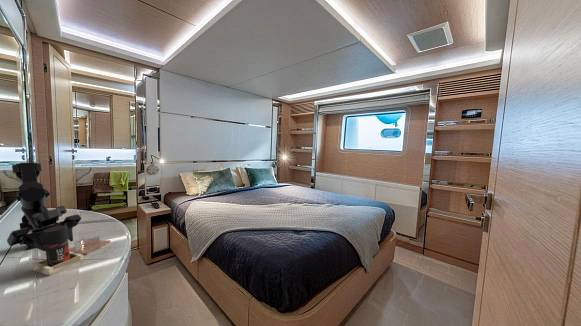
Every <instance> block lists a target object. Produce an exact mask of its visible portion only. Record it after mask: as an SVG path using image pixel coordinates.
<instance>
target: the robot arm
mask: <svg viewBox="0 0 581 326" xmlns="http://www.w3.org/2000/svg"><path fill="white" fill-rule="evenodd" d="M11 171H12V174H13V175H15V178H16V179H17V180H18V181H19V182H21V183H22V184H21V185H19V186H18V191H16V199H17V200H16V201H17V202H20V203H21V208H20V209H21V211H22V213H23V215H22V216H21V222H19V229H16V230H12V231H11V232H10V234H9V236H8V238H7V240H6V242H7V244H8V246H9V247H12V246H16V245H20V246H22V245H25V250H31V249H37V250H40V251H43V252H46V247H45V242H44V234H43V231H44V230H45V229H47V228H50V227H54V226H61V225H65V226H66V227H67V236H68V241H70V242H71V243H72V242H73V241H74V235H73V228H74V227H76V226H78V224H79V223H80V222H81V220H82V216H81V215H79V214H77V213H75V214H72V215H69V216H66V217H64V219H63V221H59V220H60V217H62V216H63V215H65V214H67V213H68V210H67V208H66V206H65V205H60V206H57V207H56V208H54V209H48V208H47V206H46V205H45V204H46V198H48V197H49V196H50V191H49V190H47V188H44V185H43V183H40V182H39V181H38V179H39V177H40V173H42V171H43V170H42V164H41V163H37V162H34V161H32V162H31V161H29V162H20V163H16V164H12V165H11ZM58 221H59V222H58Z"/></svg>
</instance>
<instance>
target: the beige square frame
mask: <svg viewBox="0 0 581 326" xmlns="http://www.w3.org/2000/svg"><path fill="white" fill-rule="evenodd" d="M69 254H70V259H69V260H67V261H65V262H62V263H60V264H57V265H55V266H53V267H49V266H47V258H44V259H42V260H39V261H36V262H34V263H32V264H31V267H32V271H34V272H37V273H40V274H43V275H46V276H49V277H51V276H53V275H54V274H56V273H60V272H61V270H62V271H64V270H66V269H68V268H71V267H72V266H74V265H76V264H79V263H81V262H84V260H85V259H84V258H85V257H84V254H78V253H74V252H70V251H69Z"/></svg>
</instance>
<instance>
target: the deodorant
mask: <svg viewBox="0 0 581 326" xmlns="http://www.w3.org/2000/svg"><path fill="white" fill-rule="evenodd" d="M43 234H44V242H45V245H44V246H45V247H46V251H45V256H46V257H45V259H47V266H49V267H53V266H55V265H57V264H60V263H62V262H65V261H67V260H69V259H70V254H69V249H70V247H69V240H68V236H67V227H66V226H65V225H61V226H54V227H50V228H47V229H45V230H44V231H43Z"/></svg>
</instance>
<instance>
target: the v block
mask: <svg viewBox="0 0 581 326" xmlns="http://www.w3.org/2000/svg"><path fill="white" fill-rule="evenodd" d="M110 243H111V240H109V239H108V240H107V239H106V240H105V239H100V235H95V236H92V237H85V238H80V239H78V240H75V241H74V244H73V245H74V246H73V247H70V248H69V251H70V252H74V253H78V254H82V255H89V254H91V253H94V252H95V251H96V250H98V249H100V248H102V247H105V246H106V245H109V244H110Z"/></svg>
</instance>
